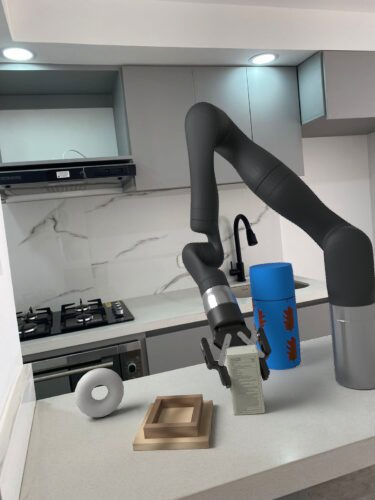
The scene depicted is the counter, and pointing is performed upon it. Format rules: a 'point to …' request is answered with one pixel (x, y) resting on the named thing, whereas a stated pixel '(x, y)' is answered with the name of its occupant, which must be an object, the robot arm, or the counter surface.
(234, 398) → the skincare box
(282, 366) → the thermos
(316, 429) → the counter surface
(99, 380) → the donut
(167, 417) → the wooden square holder
